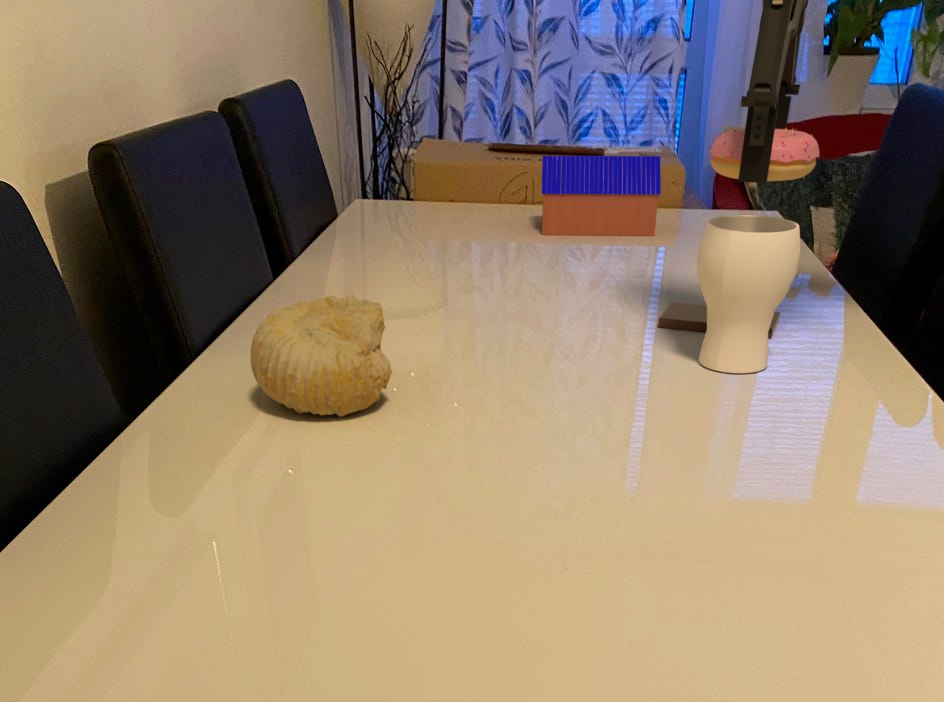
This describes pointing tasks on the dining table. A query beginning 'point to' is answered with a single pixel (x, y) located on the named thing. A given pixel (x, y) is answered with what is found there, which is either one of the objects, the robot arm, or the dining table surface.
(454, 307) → the dining table surface
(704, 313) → the walnut coaster board
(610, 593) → the dining table surface
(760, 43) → the robot arm
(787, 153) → the doughnut
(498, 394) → the dining table surface
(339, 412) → the seashell
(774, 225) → the cup
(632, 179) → the house
